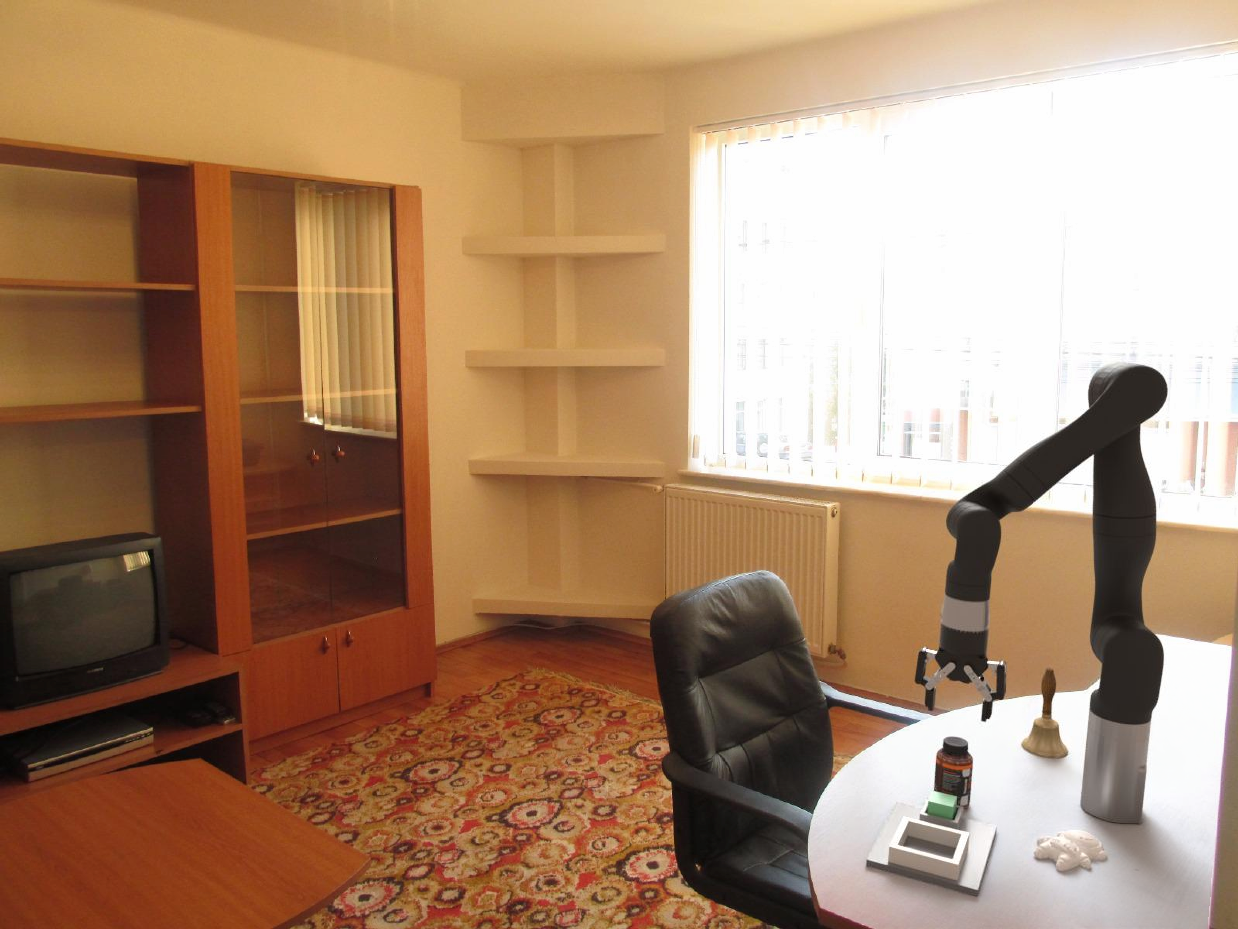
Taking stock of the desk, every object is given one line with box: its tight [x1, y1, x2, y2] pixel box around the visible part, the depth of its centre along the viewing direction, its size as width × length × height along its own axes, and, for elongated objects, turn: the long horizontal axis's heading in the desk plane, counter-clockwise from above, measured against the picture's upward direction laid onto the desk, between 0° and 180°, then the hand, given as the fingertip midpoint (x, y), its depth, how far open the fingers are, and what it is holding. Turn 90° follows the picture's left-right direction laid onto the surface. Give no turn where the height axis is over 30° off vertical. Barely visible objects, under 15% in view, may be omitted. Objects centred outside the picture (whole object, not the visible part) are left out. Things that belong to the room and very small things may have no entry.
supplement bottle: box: [933, 736, 974, 811], centre depth 166 cm, size 6×6×11 cm
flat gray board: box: [865, 797, 998, 897], centre depth 153 cm, size 16×20×4 cm
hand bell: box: [1020, 667, 1069, 759], centre depth 187 cm, size 8×8×16 cm
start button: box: [927, 790, 957, 820], centre depth 158 cm, size 4×4×3 cm
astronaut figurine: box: [1033, 829, 1108, 872], centre depth 152 cm, size 9×12×3 cm
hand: (957, 714), depth 165 cm, fingers open, 8 cm apart
